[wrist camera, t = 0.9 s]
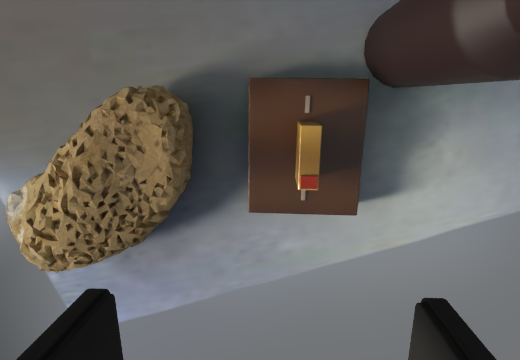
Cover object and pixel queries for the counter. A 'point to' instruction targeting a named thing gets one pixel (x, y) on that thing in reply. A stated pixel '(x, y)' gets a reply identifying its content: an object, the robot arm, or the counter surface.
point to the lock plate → (285, 138)
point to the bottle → (445, 42)
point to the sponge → (106, 182)
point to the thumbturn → (308, 155)
